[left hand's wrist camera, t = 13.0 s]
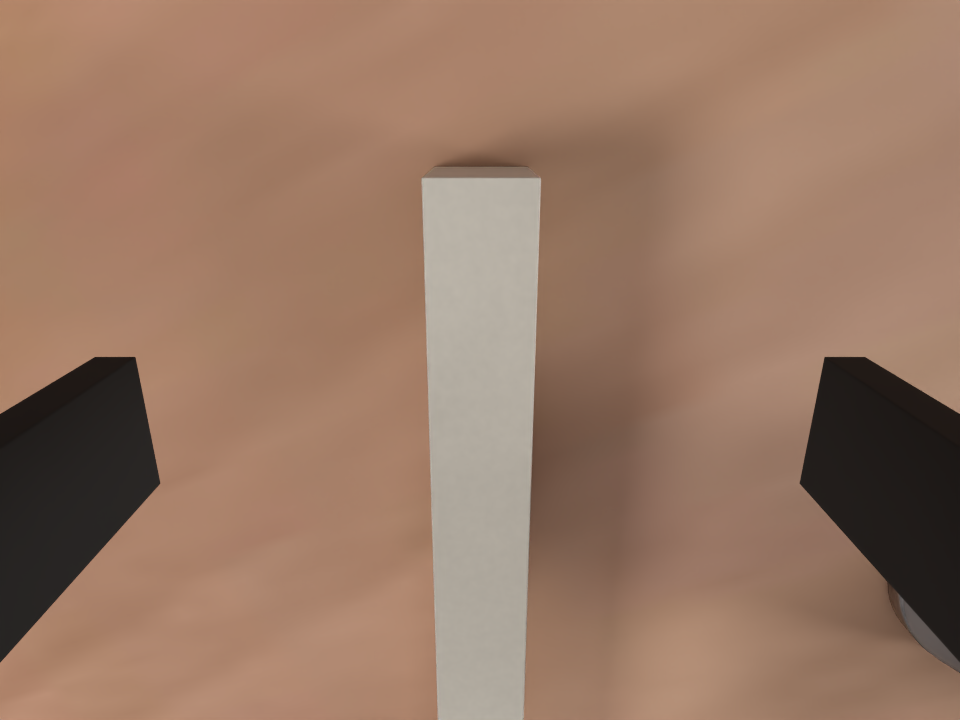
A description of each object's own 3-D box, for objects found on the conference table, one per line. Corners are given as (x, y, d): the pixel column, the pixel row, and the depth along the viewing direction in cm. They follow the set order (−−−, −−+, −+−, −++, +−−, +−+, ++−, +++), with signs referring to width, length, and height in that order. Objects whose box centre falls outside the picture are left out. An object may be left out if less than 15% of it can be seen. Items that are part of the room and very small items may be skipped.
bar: (433, 166, 33) (421, 177, 26) (528, 166, 33) (541, 177, 26) (451, 925, 55) (447, 1041, 48) (509, 925, 55) (513, 1041, 48)
